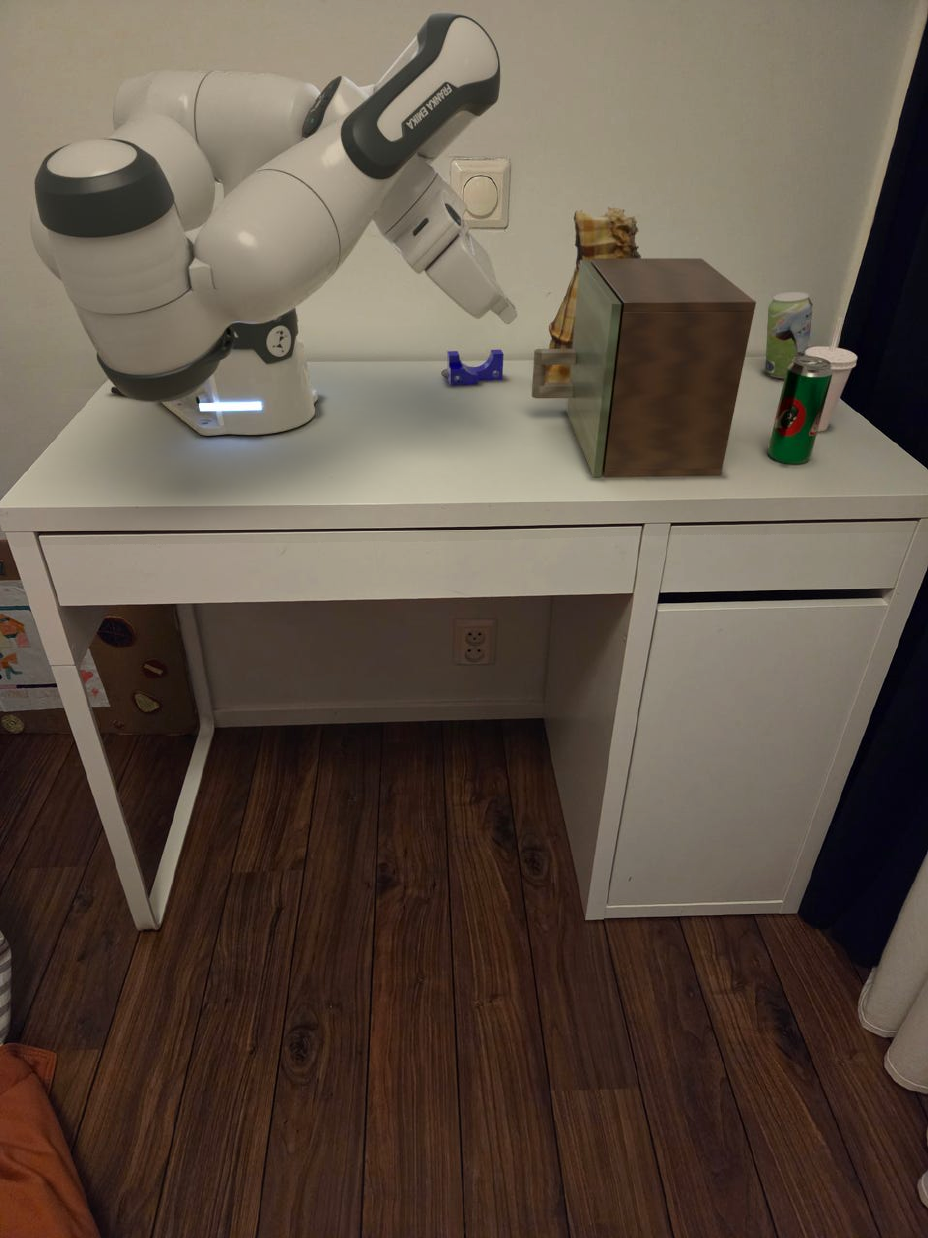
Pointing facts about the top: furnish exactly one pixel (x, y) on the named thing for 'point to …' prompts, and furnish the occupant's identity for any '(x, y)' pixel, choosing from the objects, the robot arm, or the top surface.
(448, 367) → the cable holder
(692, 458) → the cupboard
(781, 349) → the beverage can
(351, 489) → the top surface
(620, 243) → the plaid cloth bag
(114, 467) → the top surface
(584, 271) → the door
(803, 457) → the soda can
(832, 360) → the smoothie
